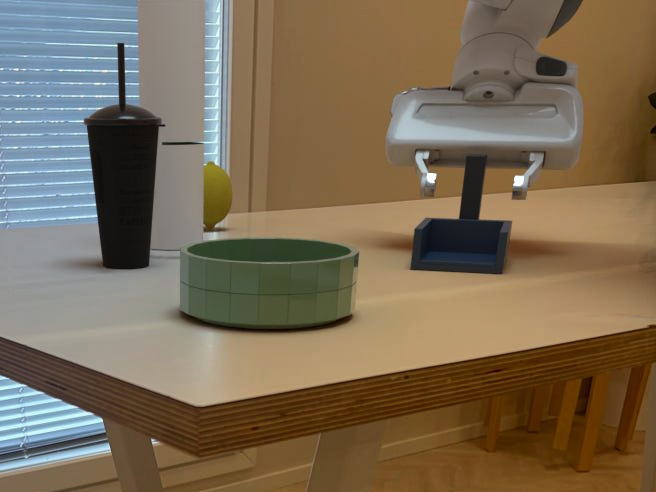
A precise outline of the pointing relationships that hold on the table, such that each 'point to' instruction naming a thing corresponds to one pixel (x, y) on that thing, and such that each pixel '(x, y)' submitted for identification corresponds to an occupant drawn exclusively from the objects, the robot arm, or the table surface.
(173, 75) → the cylindrical container
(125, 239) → the drinking cup
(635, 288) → the table surface
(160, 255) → the table surface
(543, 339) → the table surface
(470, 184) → the scoop
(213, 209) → the lemon
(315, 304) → the bowl
